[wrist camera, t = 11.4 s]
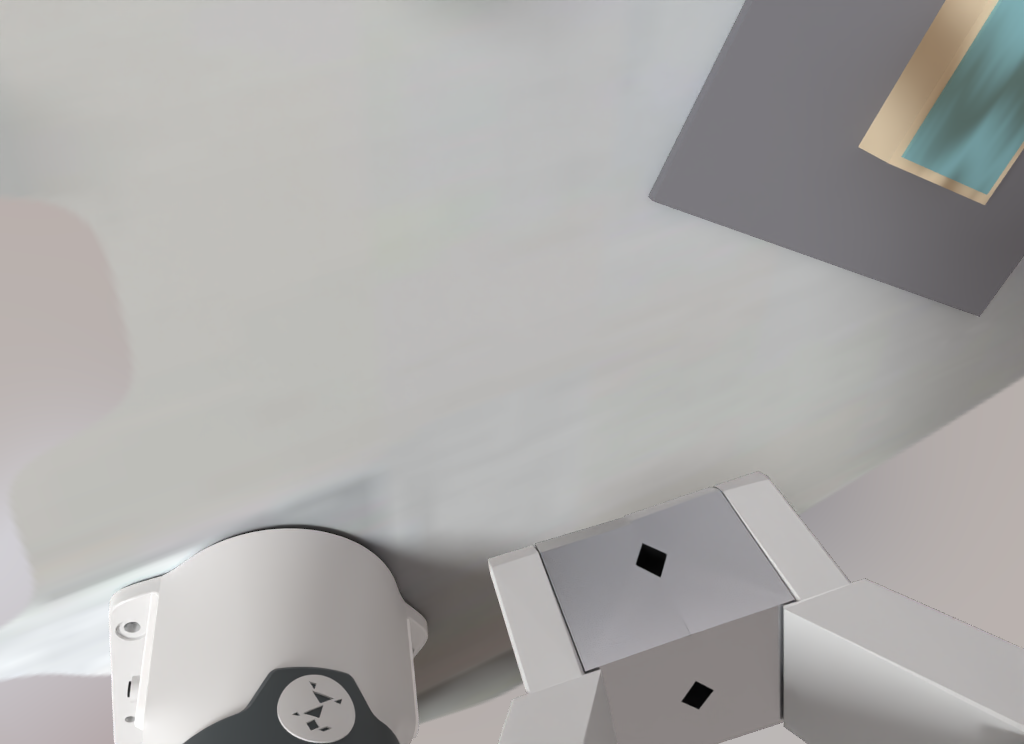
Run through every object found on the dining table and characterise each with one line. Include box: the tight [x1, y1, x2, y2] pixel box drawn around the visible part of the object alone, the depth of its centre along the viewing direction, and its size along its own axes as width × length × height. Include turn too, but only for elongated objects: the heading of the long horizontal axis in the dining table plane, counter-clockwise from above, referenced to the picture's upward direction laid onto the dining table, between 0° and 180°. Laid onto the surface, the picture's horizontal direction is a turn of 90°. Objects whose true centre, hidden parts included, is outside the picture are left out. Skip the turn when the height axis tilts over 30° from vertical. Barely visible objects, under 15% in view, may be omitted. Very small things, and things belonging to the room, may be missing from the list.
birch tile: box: [858, 0, 1024, 205], centre depth 41 cm, size 10×3×7 cm
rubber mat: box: [648, 0, 1024, 317], centre depth 42 cm, size 22×24×1 cm
